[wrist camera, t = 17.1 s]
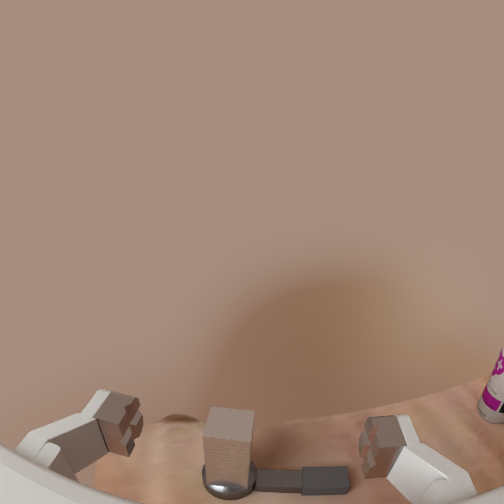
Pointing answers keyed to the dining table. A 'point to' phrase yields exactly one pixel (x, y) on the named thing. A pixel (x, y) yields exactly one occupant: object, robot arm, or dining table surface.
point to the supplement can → (494, 394)
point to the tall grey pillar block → (228, 447)
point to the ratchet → (287, 482)
